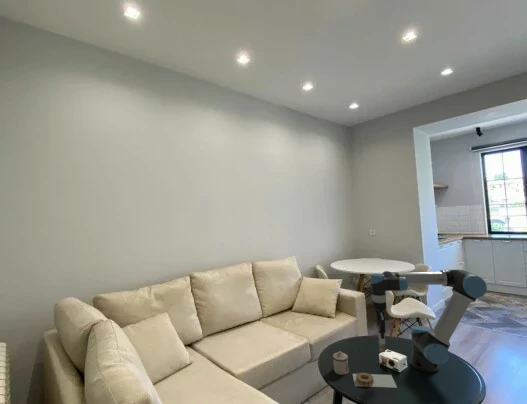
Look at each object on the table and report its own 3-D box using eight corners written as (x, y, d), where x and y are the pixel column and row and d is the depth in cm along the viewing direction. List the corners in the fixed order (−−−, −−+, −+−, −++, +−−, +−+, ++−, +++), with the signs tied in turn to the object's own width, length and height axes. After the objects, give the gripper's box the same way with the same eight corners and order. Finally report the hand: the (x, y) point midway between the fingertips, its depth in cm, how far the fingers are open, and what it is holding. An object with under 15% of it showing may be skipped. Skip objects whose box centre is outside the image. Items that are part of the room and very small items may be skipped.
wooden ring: (371, 377, 167) (371, 372, 167) (375, 386, 158) (374, 382, 158) (355, 376, 168) (355, 372, 168) (358, 386, 159) (357, 381, 160)
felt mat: (391, 375, 168) (391, 374, 168) (397, 388, 156) (397, 387, 156) (352, 374, 172) (352, 373, 172) (355, 386, 160) (355, 386, 160)
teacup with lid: (349, 375, 170) (348, 355, 170) (334, 375, 172) (332, 355, 172) (348, 364, 182) (346, 346, 182) (333, 364, 184) (331, 345, 184)
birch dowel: (384, 349, 167) (383, 325, 168) (385, 352, 164) (384, 327, 165) (379, 349, 168) (377, 325, 168) (380, 352, 165) (378, 327, 165)
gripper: (369, 297, 175) (372, 336, 175) (375, 305, 160) (378, 348, 159) (382, 297, 174) (385, 336, 173) (389, 305, 158) (392, 349, 158)
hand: (382, 342), depth 166 cm, fingers closed on birch dowel, 3 cm apart
